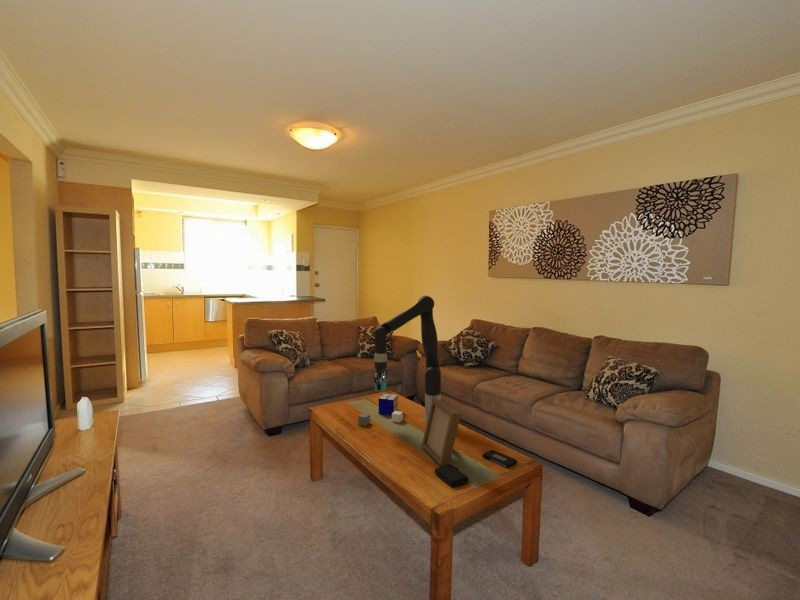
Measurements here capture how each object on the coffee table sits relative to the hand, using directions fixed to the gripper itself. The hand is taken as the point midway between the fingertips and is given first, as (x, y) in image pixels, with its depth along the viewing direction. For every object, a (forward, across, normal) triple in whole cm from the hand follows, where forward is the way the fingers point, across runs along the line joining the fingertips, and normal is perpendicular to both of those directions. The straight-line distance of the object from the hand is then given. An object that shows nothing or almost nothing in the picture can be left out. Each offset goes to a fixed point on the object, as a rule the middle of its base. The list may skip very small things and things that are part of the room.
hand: (380, 388), depth 233 cm
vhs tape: (+21, -20, -72) cm, 78 cm away
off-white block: (+20, +6, -8) cm, 23 cm away
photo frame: (+21, -25, -47) cm, 57 cm away
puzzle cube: (+21, +17, +3) cm, 27 cm away
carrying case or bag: (+21, -44, -56) cm, 74 cm away
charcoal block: (+20, -6, +8) cm, 23 cm away
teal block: (+1, 0, 0) cm, 1 cm away
